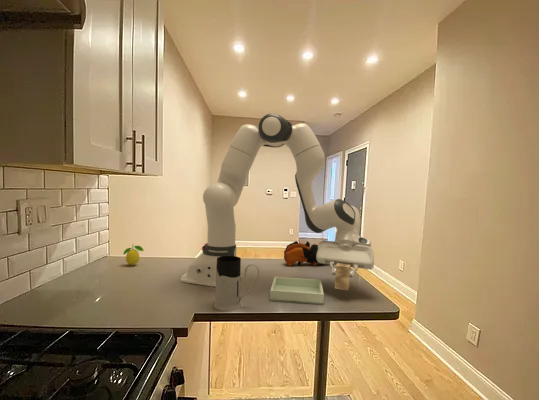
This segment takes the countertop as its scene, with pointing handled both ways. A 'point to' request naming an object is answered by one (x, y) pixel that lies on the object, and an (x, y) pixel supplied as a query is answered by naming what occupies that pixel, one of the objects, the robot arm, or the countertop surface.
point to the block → (342, 276)
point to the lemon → (132, 255)
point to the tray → (297, 290)
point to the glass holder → (229, 283)
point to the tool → (301, 253)
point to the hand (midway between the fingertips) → (342, 275)
